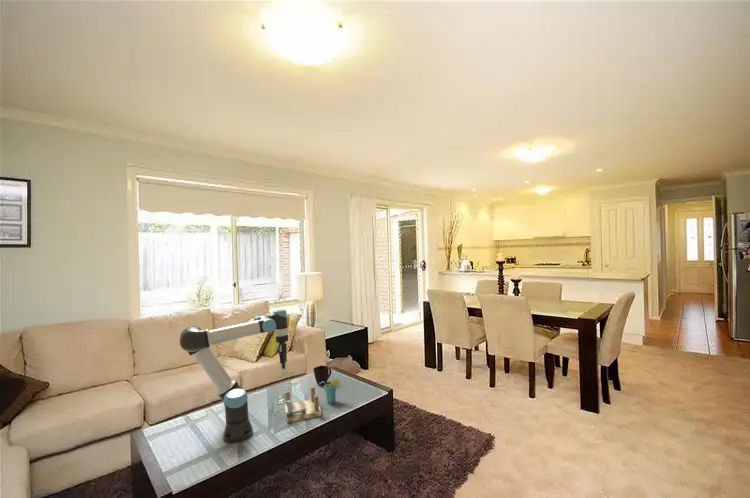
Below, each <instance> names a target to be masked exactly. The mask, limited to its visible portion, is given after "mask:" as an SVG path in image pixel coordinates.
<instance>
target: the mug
mask: <svg viewBox="0 0 750 498" xmlns="http://www.w3.org/2000/svg"><path fill="white" fill-rule="evenodd" d="M312 371H313V375H314V379H315V382H316V384H317V385H318V386H325V384H324V382H325V383H326V385H327V384H328V380H329V379H330V377H331V375H332V369H331V367H329V366H328V365H319V366H316V367H314V368H313V369H312ZM322 381H324V382H323V383H321V384H319V383H320V382H322Z"/></svg>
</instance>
